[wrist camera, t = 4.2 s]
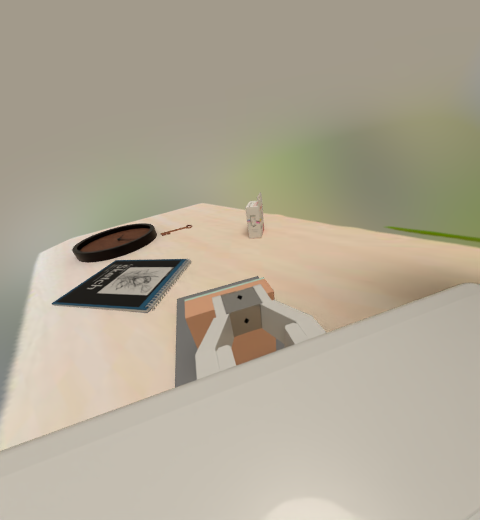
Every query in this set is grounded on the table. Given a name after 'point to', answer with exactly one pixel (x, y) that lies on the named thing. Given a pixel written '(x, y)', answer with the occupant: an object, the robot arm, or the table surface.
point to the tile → (244, 345)
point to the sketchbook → (126, 285)
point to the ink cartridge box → (255, 218)
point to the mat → (187, 345)
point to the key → (174, 230)
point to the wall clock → (114, 242)
